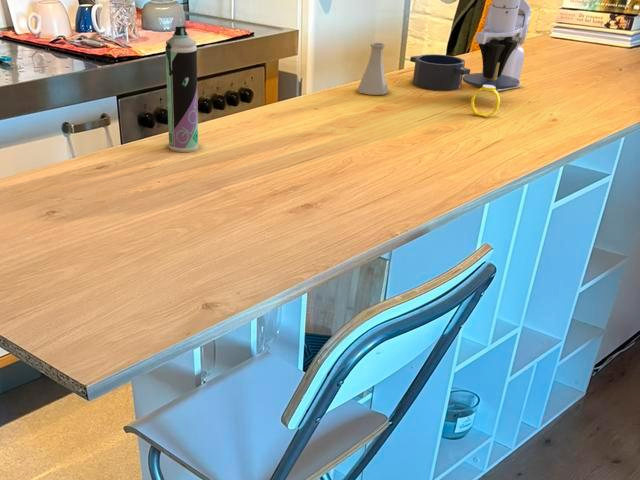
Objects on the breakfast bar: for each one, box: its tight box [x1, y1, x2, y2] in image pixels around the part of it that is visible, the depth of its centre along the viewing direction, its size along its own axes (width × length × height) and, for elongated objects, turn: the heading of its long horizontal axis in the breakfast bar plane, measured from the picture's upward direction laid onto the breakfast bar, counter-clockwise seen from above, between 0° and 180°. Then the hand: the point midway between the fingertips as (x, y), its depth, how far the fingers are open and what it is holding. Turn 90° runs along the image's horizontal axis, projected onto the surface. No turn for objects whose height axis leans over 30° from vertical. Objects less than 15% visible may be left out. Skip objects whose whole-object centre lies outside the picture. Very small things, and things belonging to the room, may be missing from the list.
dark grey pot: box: [409, 53, 471, 92], centre depth 196 cm, size 12×17×6 cm
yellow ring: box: [470, 85, 501, 118], centre depth 175 cm, size 6×3×6 cm, turn 61°
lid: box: [462, 62, 520, 89], centre depth 182 cm, size 13×13×5 cm
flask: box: [357, 42, 389, 96], centre depth 187 cm, size 7×7×10 cm
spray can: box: [164, 25, 199, 153], centre depth 146 cm, size 6×6×20 cm
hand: (491, 76), depth 182 cm, fingers closed on lid, 2 cm apart
